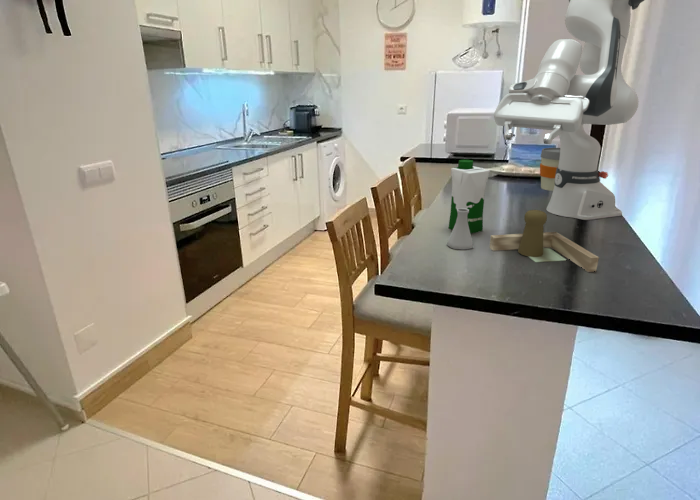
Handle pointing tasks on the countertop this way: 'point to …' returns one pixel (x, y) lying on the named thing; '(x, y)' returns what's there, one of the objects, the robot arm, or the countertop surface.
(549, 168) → the reusable coffee cup
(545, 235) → the corner arena
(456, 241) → the flask
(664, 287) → the countertop surface
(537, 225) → the cork
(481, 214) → the milk carton
